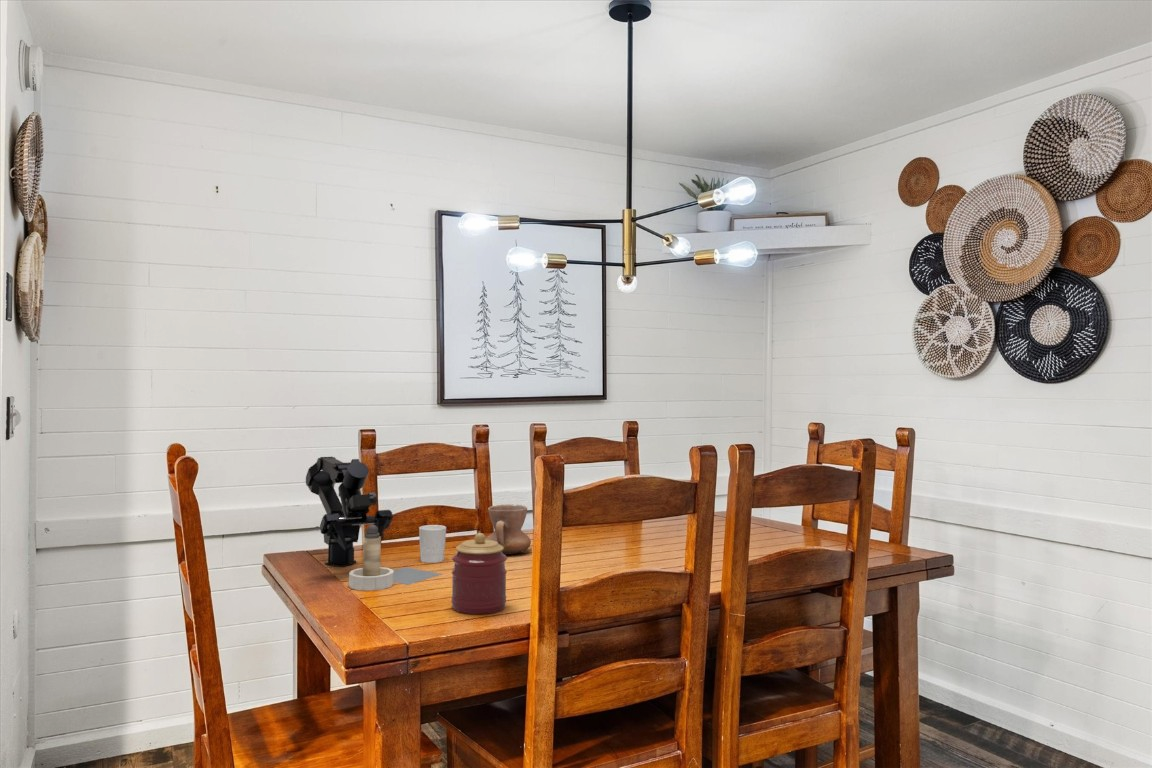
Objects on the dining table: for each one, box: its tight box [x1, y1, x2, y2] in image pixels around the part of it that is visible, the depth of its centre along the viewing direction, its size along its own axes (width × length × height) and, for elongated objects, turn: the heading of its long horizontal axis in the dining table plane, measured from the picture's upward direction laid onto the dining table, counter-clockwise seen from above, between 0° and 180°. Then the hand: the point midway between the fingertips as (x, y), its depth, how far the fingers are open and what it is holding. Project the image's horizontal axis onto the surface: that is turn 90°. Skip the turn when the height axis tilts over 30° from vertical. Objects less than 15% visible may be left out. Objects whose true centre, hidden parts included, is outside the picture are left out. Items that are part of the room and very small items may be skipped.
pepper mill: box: [362, 524, 382, 576], centre depth 207 cm, size 4×4×15 cm
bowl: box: [348, 566, 395, 592], centre depth 207 cm, size 11×11×4 cm
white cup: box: [418, 524, 447, 564], centre depth 236 cm, size 8×8×10 cm
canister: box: [450, 532, 508, 615], centre depth 190 cm, size 13×13×18 cm
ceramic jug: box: [485, 503, 532, 555], centre depth 250 cm, size 18×14×14 cm
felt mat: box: [393, 566, 443, 586], centre depth 218 cm, size 14×14×1 cm
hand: (363, 547), depth 213 cm, fingers open, 9 cm apart
